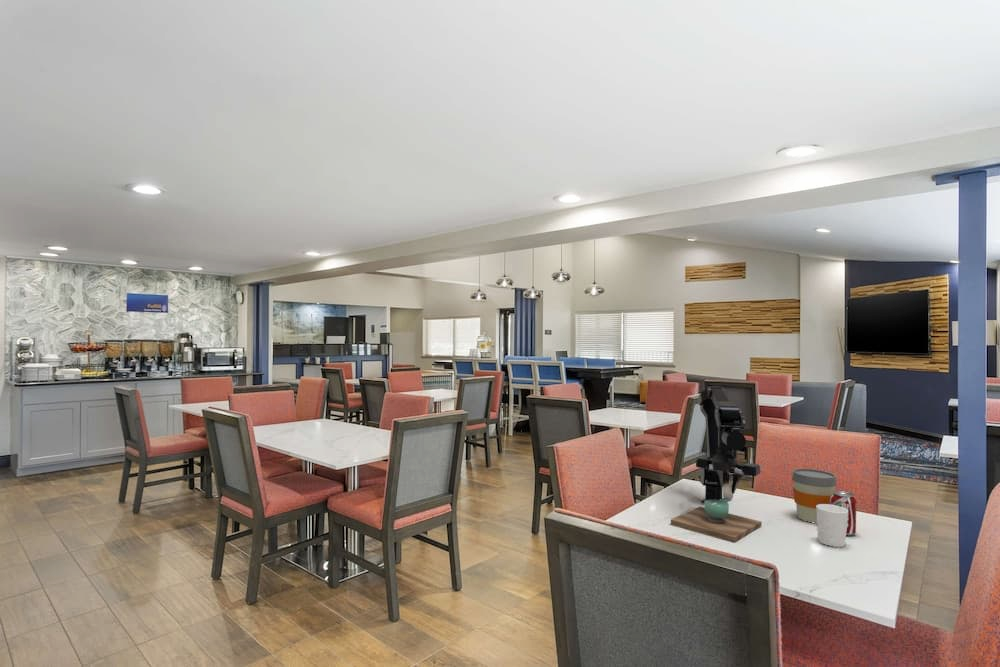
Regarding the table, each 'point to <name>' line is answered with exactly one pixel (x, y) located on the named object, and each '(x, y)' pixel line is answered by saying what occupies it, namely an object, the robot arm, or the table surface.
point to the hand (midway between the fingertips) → (727, 492)
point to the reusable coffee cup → (812, 491)
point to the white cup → (831, 524)
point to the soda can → (848, 503)
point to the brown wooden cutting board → (717, 524)
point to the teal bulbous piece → (719, 504)
